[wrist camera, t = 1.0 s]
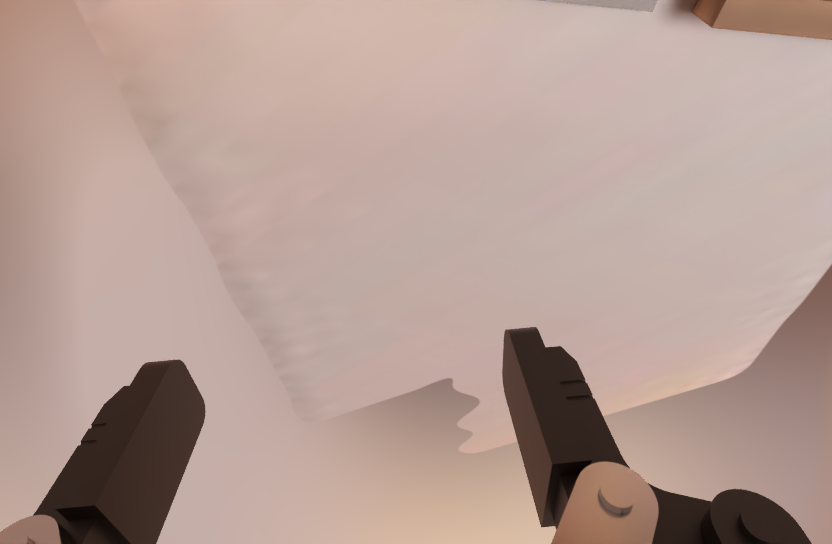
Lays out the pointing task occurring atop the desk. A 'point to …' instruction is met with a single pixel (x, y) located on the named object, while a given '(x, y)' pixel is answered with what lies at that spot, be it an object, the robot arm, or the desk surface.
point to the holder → (769, 16)
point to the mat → (615, 3)
